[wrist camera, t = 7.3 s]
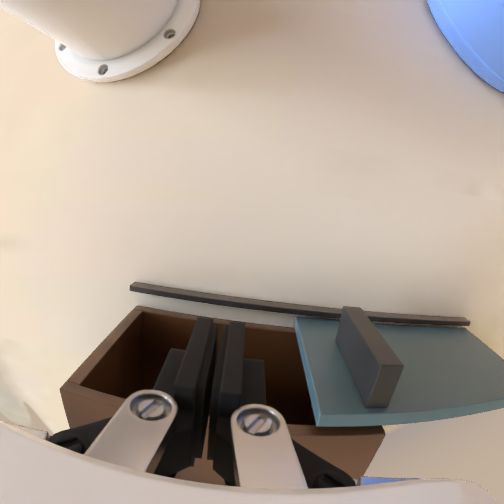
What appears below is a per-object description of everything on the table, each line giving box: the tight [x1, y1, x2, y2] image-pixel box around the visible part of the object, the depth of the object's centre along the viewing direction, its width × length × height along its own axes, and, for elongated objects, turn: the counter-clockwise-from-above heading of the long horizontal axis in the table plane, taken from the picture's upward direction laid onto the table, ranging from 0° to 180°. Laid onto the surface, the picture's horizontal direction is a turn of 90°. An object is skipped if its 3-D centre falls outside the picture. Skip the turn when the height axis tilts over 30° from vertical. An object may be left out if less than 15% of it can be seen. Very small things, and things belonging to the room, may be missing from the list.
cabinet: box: [60, 282, 470, 485], centre depth 19 cm, size 12×28×12 cm, turn 83°
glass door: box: [294, 306, 504, 427], centre depth 17 cm, size 3×16×11 cm, turn 83°
